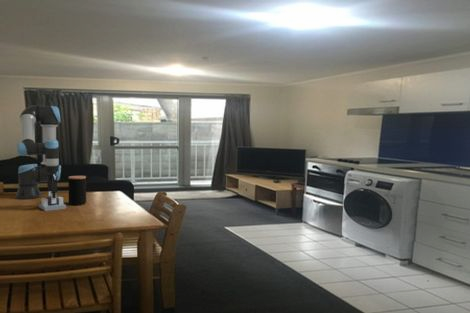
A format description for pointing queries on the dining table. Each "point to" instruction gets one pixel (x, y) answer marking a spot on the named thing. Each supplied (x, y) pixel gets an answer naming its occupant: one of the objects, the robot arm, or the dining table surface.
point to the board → (52, 207)
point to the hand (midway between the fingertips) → (52, 202)
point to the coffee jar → (77, 190)
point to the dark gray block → (50, 201)
